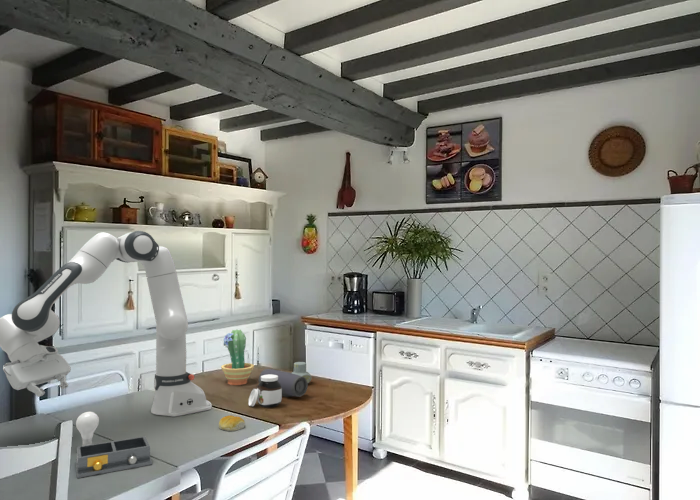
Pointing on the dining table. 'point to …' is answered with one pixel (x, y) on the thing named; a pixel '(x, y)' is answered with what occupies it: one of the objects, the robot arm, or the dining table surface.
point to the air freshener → (301, 370)
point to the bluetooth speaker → (288, 382)
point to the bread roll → (231, 423)
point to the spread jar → (267, 392)
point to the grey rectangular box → (112, 456)
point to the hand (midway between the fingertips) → (54, 391)
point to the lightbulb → (87, 426)
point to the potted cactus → (236, 359)
